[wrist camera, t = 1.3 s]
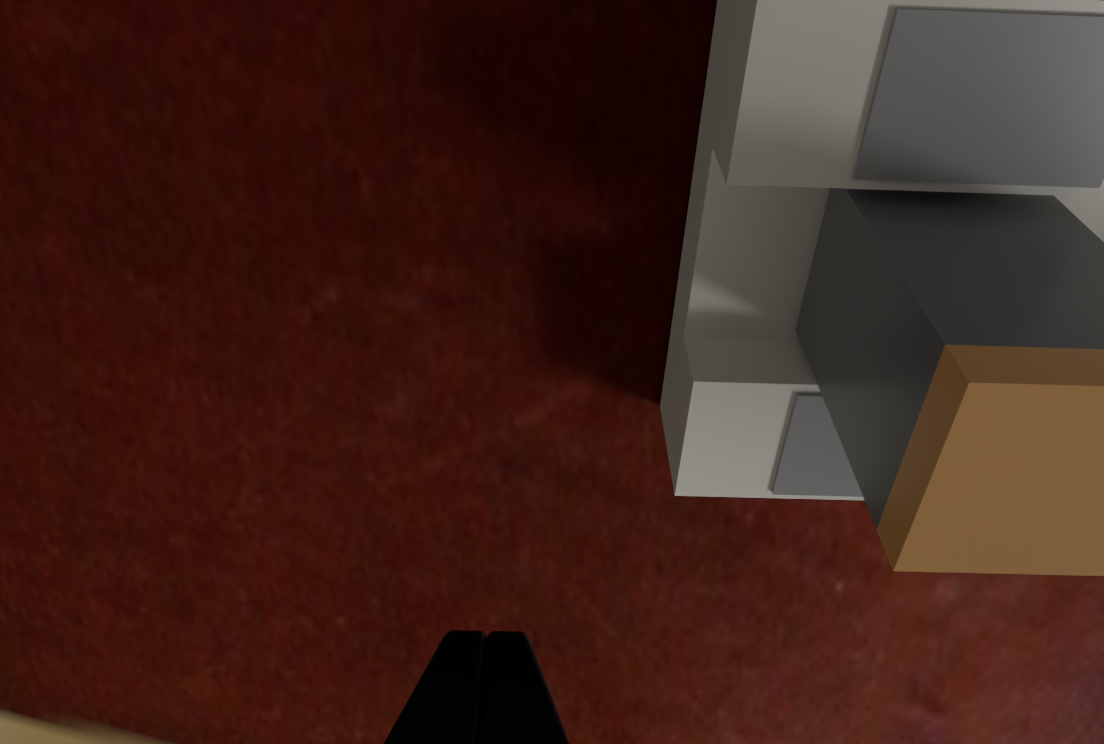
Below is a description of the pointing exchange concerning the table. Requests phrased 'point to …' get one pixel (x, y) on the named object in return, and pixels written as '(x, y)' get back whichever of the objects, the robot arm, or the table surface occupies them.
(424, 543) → the table surface
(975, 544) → the switch tab
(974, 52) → the switch plate
